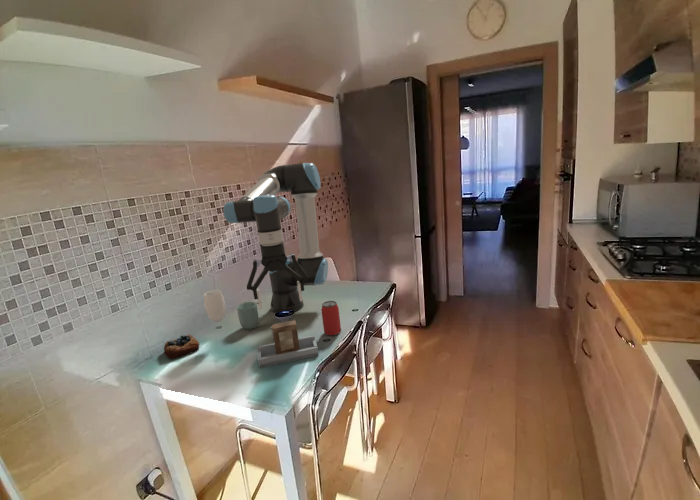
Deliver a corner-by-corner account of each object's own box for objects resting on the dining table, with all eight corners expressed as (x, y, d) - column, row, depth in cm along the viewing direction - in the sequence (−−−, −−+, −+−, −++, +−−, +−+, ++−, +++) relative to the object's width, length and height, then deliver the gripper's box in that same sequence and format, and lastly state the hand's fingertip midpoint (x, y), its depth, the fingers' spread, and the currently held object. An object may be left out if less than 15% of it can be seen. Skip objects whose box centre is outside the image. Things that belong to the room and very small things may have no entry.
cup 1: (221, 337, 149) (211, 288, 144) (236, 339, 146) (226, 289, 141) (208, 346, 142) (198, 295, 137) (223, 348, 140) (213, 296, 135)
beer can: (328, 338, 139) (324, 308, 137) (321, 331, 145) (318, 303, 142) (344, 332, 142) (340, 303, 139) (336, 326, 148) (333, 298, 145)
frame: (277, 358, 126) (272, 328, 123) (276, 353, 129) (271, 324, 127) (300, 353, 128) (296, 324, 125) (299, 348, 131) (295, 320, 128)
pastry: (162, 352, 142) (159, 338, 141) (194, 340, 149) (192, 327, 147) (168, 362, 133) (165, 348, 132) (202, 350, 140) (199, 336, 139)
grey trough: (259, 368, 123) (257, 355, 122) (259, 357, 130) (257, 345, 129) (318, 355, 127) (317, 342, 126) (315, 346, 134) (313, 334, 133)
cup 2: (263, 324, 157) (260, 302, 155) (251, 332, 151) (247, 309, 148) (249, 322, 161) (245, 301, 158) (236, 330, 154) (232, 308, 151)
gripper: (231, 251, 114) (243, 315, 120) (311, 239, 120) (319, 300, 125) (232, 246, 121) (243, 306, 127) (308, 235, 127) (315, 293, 132)
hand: (281, 303), depth 126 cm, fingers open, 13 cm apart
